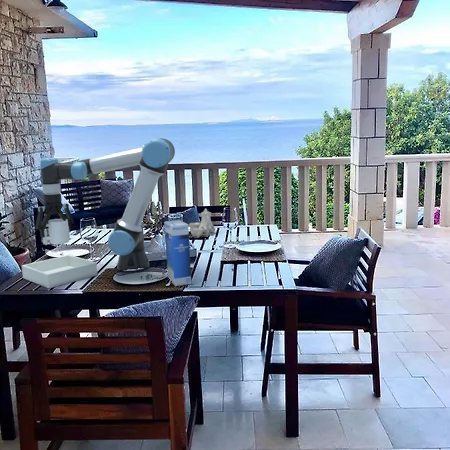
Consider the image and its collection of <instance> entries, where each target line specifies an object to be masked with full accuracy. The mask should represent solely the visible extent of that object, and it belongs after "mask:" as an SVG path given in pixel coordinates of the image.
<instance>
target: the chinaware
mask: <svg viewBox="0 0 450 450" xmlns="http://www.w3.org/2000/svg"><path fill="white" fill-rule="evenodd" d="M200 214H201V220H200V222H190V223H187V224H188V227H189V231H190V233H191V235H192V236H193V237H194V239H199V238H200V237H201V236H212V235H214V232H215V231H216V228H215V225H213V223H212V220H211V214H212V212H211V211H209V210H208V209H207V208H204V210H203V211H202V212H200Z"/></svg>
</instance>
